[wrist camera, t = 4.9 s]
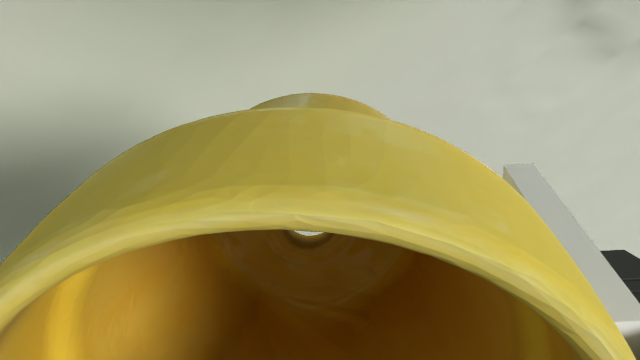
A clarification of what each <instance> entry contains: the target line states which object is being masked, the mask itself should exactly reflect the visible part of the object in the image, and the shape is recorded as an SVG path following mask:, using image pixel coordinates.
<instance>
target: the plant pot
mask: <svg viewBox="0 0 640 360" xmlns="http://www.w3.org/2000/svg"><path fill="white" fill-rule="evenodd" d="M294 230H297V231H310V232H324V233H321V234H319V235H314V236H305V235H301V234H299V233H297V232H295V231H294ZM0 360H636V358H635V356H634V354H633V353H632V351H631V349H630V347H629V345H628V343H627V342H626V340H625V338H624V337H623V335H622V334H621V332H620V331H619V329H618V327H617V326H616V324H615V323H614V321H613V320H612V318H611V316H610V315H609V313H608V312H607V310H606V308H605V307H604V305H603V304H602V302H601V301H600V299H599V297H598V296H597V294H596V293H595V291H594V290H593V288H592V286H591V285H590V283H589V282H588V280H587V279H586V277H585V276H584V275H583V273H582V272H581V270H580V269H579V268H578V266H577V265H576V263H575V262H574V260H573V259H572V258H571V256H570V255H569V253H568V252H567V251H566V249H565V248H564V247H563V245H562V244H561V243H560V241H559V240H558V239H557V237H556V236H555V235H554V233H553V232H552V231H551V229H550V228H549V227H548V226H547V224H546V223H545V222H544V221H543V219H542V218H541V217H540V216H539V214H538V213H537V212H536V211H535V210H534V209H533V207H532V206H531V205H530V204H529V203H528V202H527V201H526V200H525V199H524V198H523V197H522V196H521V195H520V194H519V193H518V192H517V191H516V190H515V189H514V188H513V187H512V186H511V185H510V184H509V183H508V182H506V181H505V180H504V179H503V178H501V177H500V176H499V175H498V174H497V173H495V172H494V171H493V170H491V169H490V168H489V167H487V166H486V165H485V164H483V163H482V162H480V161H479V160H477V159H476V158H474V157H473V156H471V155H469V154H468V153H466V152H464V151H462V150H461V149H459V148H457V147H455V146H453V145H451V144H450V143H448V142H446V141H444V140H442V139H440V138H438V137H436V136H433V135H431V134H429V133H426V132H424V131H421V130H419V129H416V128H414V127H411V126H408V125H405V124H402V123H398V122H395V121H392V120H390V119H389V118H388V117H386V116H385V115H383V114H382V113H380V112H379V111H377V110H375V109H373V108H371V107H370V106H368V105H366V104H363V103H361V102H358V101H355V100H352V99H348V98H345V97H341V96H335V95H329V94H319V93H303V94H293V95H288V96H283V97H279V98H275V99H272V100H269V101H266V102H263V103H261V104H259V105H257V106H255V107H252V108H251V109H249V110H243V111H236V112H231V113H226V114H221V115H216V116H211V117H208V118H204V119H201V120H197V121H194V122H191V123H187V124H184V125H181V126H178V127H176V128H173V129H170V130H168V131H165V132H163V133H161V134H158V135H156V136H154V137H152V138H150V139H148V140H146V141H144V142H142V143H139V144H137V145H135V146H134V147H132V148H130V149H129V150H127V151H126V152H124V153H122V154H121V155H119V156H117V157H116V158H114V159H113V160H111V161H110V162H109V163H107V164H106V165H105V166H103V167H102V168H101V169H99V170H98V171H97V172H95V173H94V174H93V175H91V176H90V177H89V178H88V179H87V180H86V181H85V182H83V183H82V184H81V185H80V186H79V187H78V188H77V189H75V190H74V191H73V192H72V193H71V194H70V195H69V196H68V197H67V198H66V199H64V200H63V201H62V202H61V203H60V204H59V205H58V206H57V207H56V208H54V209H53V210H52V211H51V212H50V213H49V214H48V215H47V216H46V217H45V218H44V219H43V220H42V221H41V222H40V223H39V224H38V225H37V226H36V227H35V228H34V229H33V230H32V231H31V232H30V234H29V235H28V236H27V237H26V238H25V239H24V240H23V241H22V242H21V243H20V244H19V245H18V246H17V247H16V249H15V250H14V251H13V252H12V253H11V254H10V255H9V256H8V257H7V258H6V259H5V260H4V261H3V262H2V264H1V265H0Z"/></svg>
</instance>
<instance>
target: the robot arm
mask: <svg viewBox="0 0 640 360" xmlns="http://www.w3.org/2000/svg"><path fill="white" fill-rule="evenodd" d="M503 179H504V180H505V181H506V182H508V183H509V184H510V185H511V186H512V187H513V188H514V189H515V190H516V191H517V192H518V193H519V194H520V195H521V196H522V197H523V198H524V199H525V200H526V201H527V202H528V203H529V204H530V205H531V206H532V207H533V209H534V210H535V211H536V212H537V213H538V214H539V216H540V217H541V218H542V219H543V221H544V222H545V223H546V224H547V226H548V227H549V228H550V229H551V231H552V232H553V233H554V235H555V236H556V237H557V239H558V240H559V241H560V243H561V244H562V245H563V247H564V248H565V249H566V251H567V252H568V253H569V255H570V256H571V258H572V259H573V260H574V262H575V263H576V265H577V266H578V268H579V269H580V270H581V272H582V273H583V275H584V276H585V277H586V279H587V280H588V282H589V283H590V285H591V286H592V288H593V290H594V291H595V293H596V294H597V296H598V297H599V299H600V301H601V302H602V304H603V305H604V307H605V308H606V310H607V312H608V313H609V315H610V316H611V318H612V320H613V321H614V323H615V324H616V326H617V327H618V329H619V331H620V332H621V334H622V335H623V337H624V338H625V340H626V342H627V343H628V345H629V347H630V349H631V351H632V353H633V354H634V356H635V358H636V360H640V259H639V258H637V257H636V256H634V255H632V254H630V253H629V252H627V251H625V250H611V251H599V249H598V248H597V247H596V245H595V244H594V243H593V241H592V240H591V239H590V238H589V236H588V235H587V234H586V232H585V231H584V230H583V228H582V227H581V226H580V224H579V223H578V222H577V220H576V219H575V218H574V216H573V215H572V214H571V212H570V211H569V210H568V209H567V207H566V206H565V205H564V203H563V202H562V201H561V199H560V198H559V197H558V195H557V194H556V193H555V191H554V190H553V189H552V187H551V186H550V185H549V184H548V182H547V181H546V180H545V178H544V177H543V176H542V174H541V173H540V172H539V170H538V169H537V168H536V166H535V165H534V164H533V163H532V164H515V165H504V173H503Z"/></svg>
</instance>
